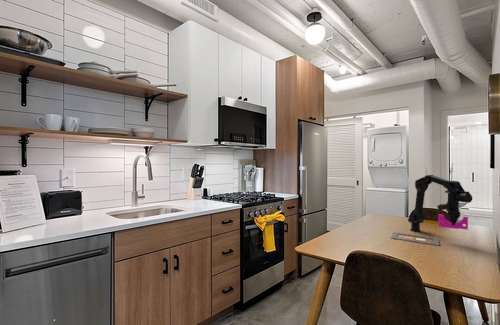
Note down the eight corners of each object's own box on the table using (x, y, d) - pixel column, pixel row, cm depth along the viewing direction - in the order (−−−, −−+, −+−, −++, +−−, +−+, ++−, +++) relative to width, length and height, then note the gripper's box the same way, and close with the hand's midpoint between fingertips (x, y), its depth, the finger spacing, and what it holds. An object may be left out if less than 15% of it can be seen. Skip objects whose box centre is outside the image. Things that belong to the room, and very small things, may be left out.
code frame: (393, 232, 194) (393, 231, 194) (438, 238, 179) (438, 238, 179) (390, 238, 179) (390, 237, 179) (439, 245, 164) (439, 244, 164)
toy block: (438, 226, 172) (438, 215, 172) (438, 225, 177) (438, 214, 177) (468, 230, 163) (468, 218, 163) (467, 228, 168) (467, 217, 168)
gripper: (437, 197, 182) (437, 220, 182) (438, 200, 167) (438, 225, 167) (457, 199, 176) (457, 222, 176) (460, 202, 160) (460, 227, 160)
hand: (452, 224), depth 170 cm, fingers closed on toy block, 6 cm apart
